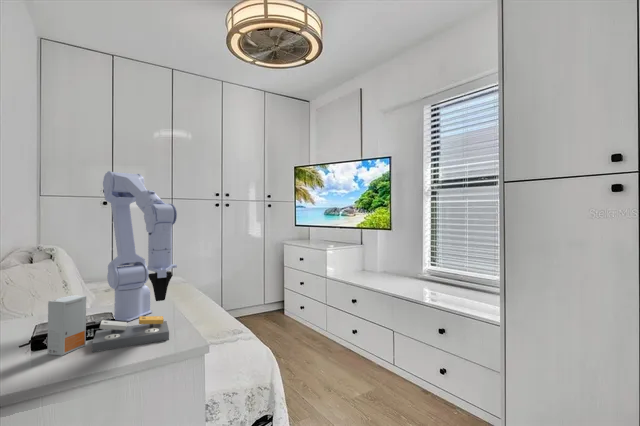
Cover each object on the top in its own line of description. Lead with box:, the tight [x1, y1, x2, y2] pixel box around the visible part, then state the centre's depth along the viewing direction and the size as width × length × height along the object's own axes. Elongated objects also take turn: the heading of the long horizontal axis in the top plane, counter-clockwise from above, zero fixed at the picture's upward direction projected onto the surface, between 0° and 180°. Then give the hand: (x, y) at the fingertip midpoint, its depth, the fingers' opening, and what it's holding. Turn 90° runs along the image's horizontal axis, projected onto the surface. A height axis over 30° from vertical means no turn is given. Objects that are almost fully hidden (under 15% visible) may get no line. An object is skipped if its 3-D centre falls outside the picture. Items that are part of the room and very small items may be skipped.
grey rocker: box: [99, 319, 128, 330], centre depth 83 cm, size 6×3×1 cm, turn 119°
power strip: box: [91, 320, 170, 353], centre depth 83 cm, size 16×9×3 cm, turn 119°
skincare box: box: [47, 294, 87, 356], centre depth 76 cm, size 6×4×12 cm
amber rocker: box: [138, 315, 164, 325], centre depth 87 cm, size 6×3×1 cm, turn 119°
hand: (160, 300), depth 88 cm, fingers closed
